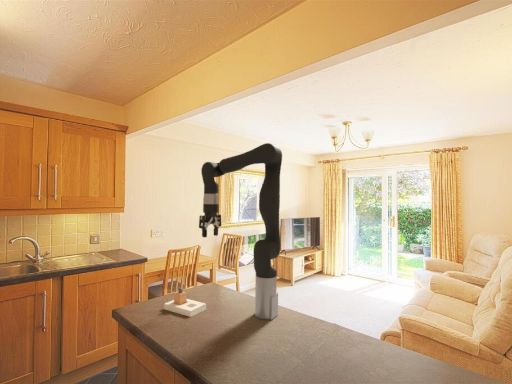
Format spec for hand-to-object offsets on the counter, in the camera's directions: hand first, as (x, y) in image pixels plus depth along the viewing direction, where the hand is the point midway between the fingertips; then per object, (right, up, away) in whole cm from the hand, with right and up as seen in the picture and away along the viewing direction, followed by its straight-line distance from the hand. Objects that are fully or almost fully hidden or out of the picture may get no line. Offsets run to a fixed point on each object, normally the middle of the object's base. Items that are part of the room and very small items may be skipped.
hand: (210, 236), depth 136 cm
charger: (-13, -32, -8) cm, 35 cm away
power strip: (-10, -32, -9) cm, 35 cm away
